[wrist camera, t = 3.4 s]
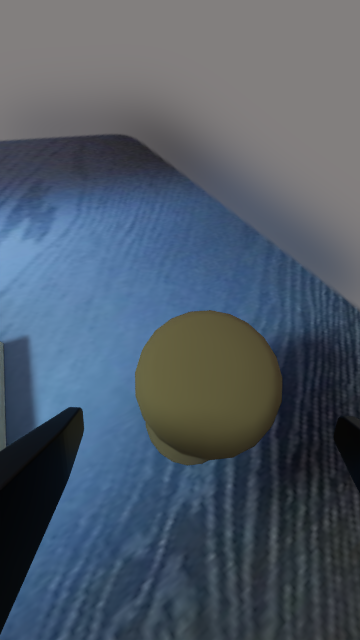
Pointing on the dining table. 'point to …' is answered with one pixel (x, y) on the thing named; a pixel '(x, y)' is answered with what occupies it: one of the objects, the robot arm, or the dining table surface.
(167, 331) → the cork
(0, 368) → the tray
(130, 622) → the dining table surface
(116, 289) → the dining table surface
